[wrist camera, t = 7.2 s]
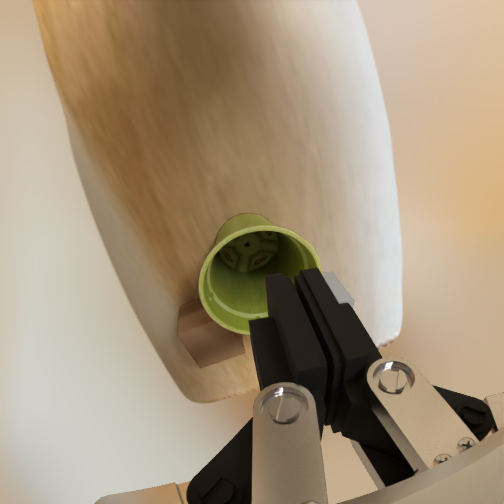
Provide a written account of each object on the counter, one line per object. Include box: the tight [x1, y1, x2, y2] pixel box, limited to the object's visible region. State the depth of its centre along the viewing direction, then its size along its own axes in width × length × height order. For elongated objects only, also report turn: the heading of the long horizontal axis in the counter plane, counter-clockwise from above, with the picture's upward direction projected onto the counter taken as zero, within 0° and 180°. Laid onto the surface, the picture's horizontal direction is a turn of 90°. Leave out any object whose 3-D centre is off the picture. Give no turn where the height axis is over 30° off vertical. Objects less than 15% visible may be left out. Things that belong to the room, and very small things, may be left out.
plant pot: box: [198, 214, 322, 335], centre depth 28 cm, size 9×9×9 cm
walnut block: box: [177, 298, 245, 368], centre depth 33 cm, size 5×5×5 cm
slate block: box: [322, 272, 354, 308], centre depth 33 cm, size 5×5×6 cm
